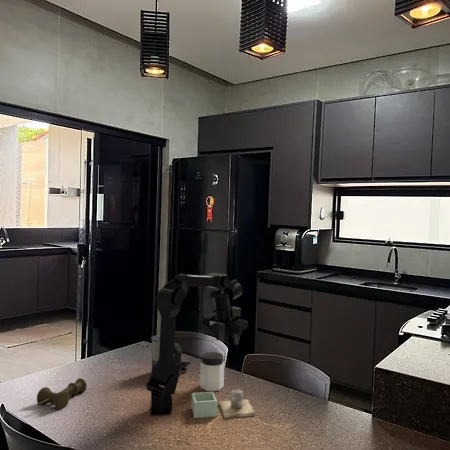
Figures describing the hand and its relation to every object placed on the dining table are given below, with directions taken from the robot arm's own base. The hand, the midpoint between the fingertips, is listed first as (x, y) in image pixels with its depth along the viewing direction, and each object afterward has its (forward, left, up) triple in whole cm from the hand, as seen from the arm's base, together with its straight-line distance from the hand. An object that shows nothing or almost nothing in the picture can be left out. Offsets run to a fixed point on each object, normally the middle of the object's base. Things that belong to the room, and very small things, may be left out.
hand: (227, 342), depth 167 cm
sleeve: (-12, -24, -15) cm, 31 cm away
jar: (-6, -4, -16) cm, 17 cm away
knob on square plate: (-1, -24, -15) cm, 29 cm away
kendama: (-60, -9, -16) cm, 62 cm away
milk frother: (-20, +14, -16) cm, 29 cm away
